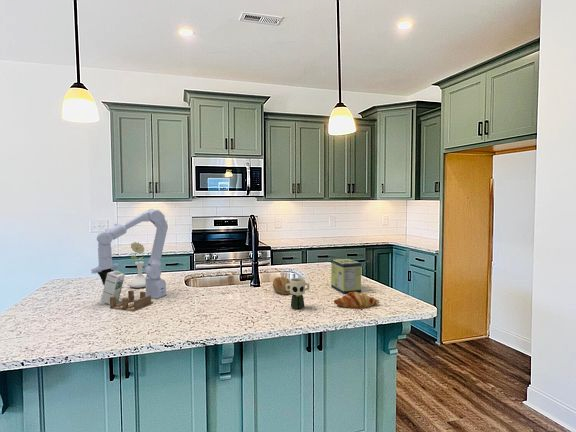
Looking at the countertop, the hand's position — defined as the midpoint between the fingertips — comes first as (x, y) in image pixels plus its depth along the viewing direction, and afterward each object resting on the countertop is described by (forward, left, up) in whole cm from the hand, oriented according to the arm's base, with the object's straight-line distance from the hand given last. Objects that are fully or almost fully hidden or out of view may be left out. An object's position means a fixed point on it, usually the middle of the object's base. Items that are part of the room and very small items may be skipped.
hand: (106, 285), depth 179 cm
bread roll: (-73, -44, -9) cm, 86 cm away
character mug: (-89, -21, -9) cm, 92 cm away
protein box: (-104, -59, -9) cm, 120 cm away
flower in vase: (+7, -30, -9) cm, 32 cm away
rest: (-15, 0, -8) cm, 17 cm away
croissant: (-114, -32, -9) cm, 119 cm away
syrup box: (-1, 0, -8) cm, 8 cm away
